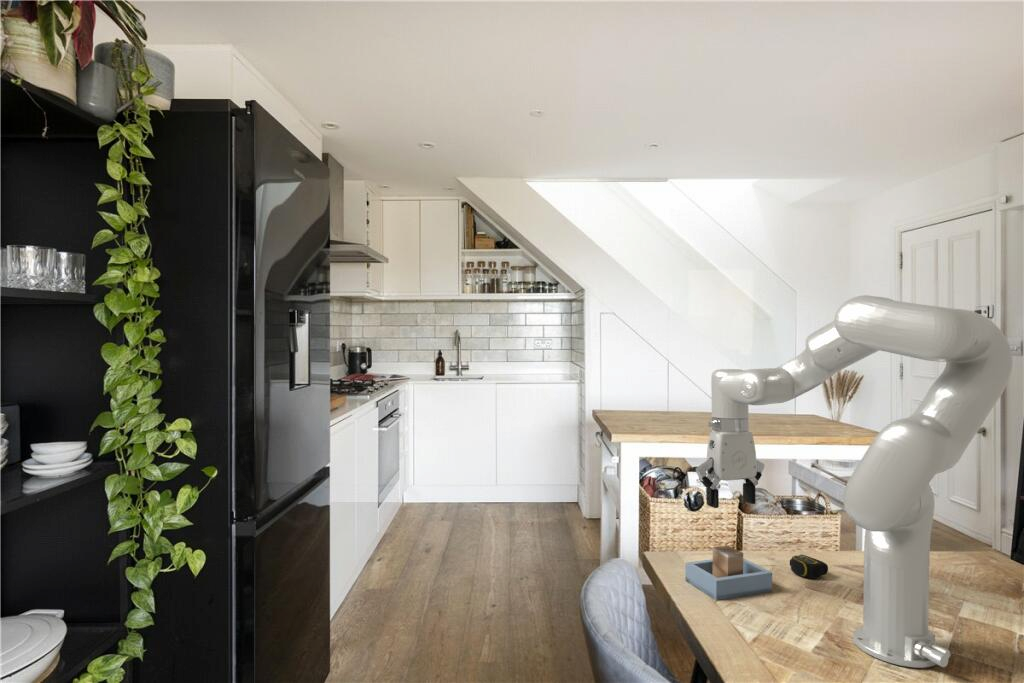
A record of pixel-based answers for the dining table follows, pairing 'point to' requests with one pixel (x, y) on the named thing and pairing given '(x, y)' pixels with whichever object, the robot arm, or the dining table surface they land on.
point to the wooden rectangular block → (727, 561)
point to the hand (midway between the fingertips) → (731, 504)
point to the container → (728, 580)
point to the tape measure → (808, 566)
